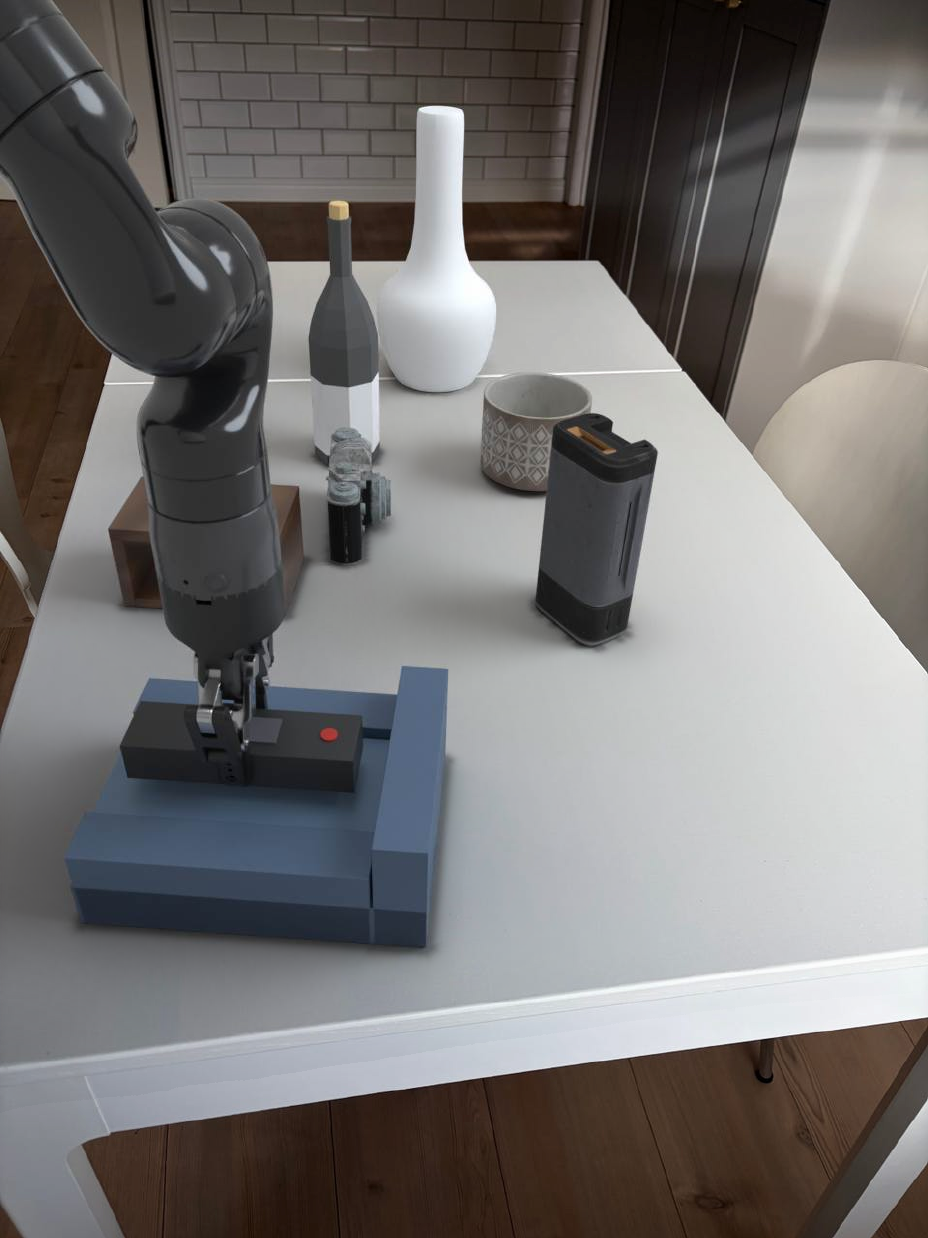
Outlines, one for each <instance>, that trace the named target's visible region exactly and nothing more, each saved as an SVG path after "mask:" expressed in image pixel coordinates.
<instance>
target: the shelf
mask: <svg viewBox="0 0 928 1238" xmlns="http://www.w3.org/2000/svg"><path fill="white" fill-rule="evenodd" d="M270 484H271V483H270ZM271 492H272V497H273V501H274V505H275V509H276V513H277V517H278V524H279V536H280V547H281V556H282V567H283V578H284V589H285V600H286V613H285V617H287V613H288V610H289V607H290V604H291V601H292V598H293V595H294V591H295V588H296V586H297V582H298V580H299V576H300V574H301V571H302V567H303V565H304V562H305V554H304V553H305V552H304V539H303V538H304V537H303V523H302V511H301V497H300V496H301V495H300V485H291V484H289V485H288V484H274V483H273V484H271ZM107 532H108V536H109V540H110V546H111V551H112V556H113V559H114V564H115V570H116V574H117V578H118V583H119V588H120V592H121V597H122V602H123V606H124V607H130V608H146V609H161V610H163V607H162V601H161V596H160V590H159V585H158V579H157V574H156V569H155V563H154V558H153V552H152V547H151V542H150V535H149V510H148V501H147V493H146V488H145V482H144V477H143V475H142V476H141V477H139V479H138V481H137V483H136V484H135V486H134V487H133V489H132V490H131V492H130V494H129V495H128V497H127V498H126V500H125V502H124V503H123V505H122V506H121V508H120V510H119V511H118V512H117V514H116V516H115V517H114V518H113V520H112V522H111V523H110V525H109V526H108V528H107Z"/></svg>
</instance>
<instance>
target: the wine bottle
mask: <svg viewBox="0 0 928 1238" xmlns="http://www.w3.org/2000/svg"><path fill="white" fill-rule="evenodd" d="M349 213H350V211H349V203H348V202H347V201H344V200H331V201H330V202H329V203H328V216H327V217H326V223H327V236H328V254H329V255H328V256H329V257H328V259H329V260H328V261H329V276H328V278H327V281H326V283H325V285H324V287H323V289H322V291H321V293H320V295H319V298H318V299H317V302H316V304H315V307H314V311H313V314H312V318H311V321H310V327H309V332H308V338H307V339H308V355H309V356H308V357H309V370H310V371H309V372H310V373H309V374H310V389H311V405H312V406H311V407H312V420H313V422H312V423H313V439H314V452H315V456H316V457H317V458H318V459H319V460H320V461H321V462H323V464H325V465H326V466H327V467H328V458H330V445H331V434H333V433H335V431H336V430H338V429H340V428H354V429H356V430H357V431H358V433H359V434H361V438H365V439H366V440H368V441H369V442H370V443H371V445H372V464H373V463H374V462H375V460H376V458H377V456H378V454H379V453H380V445H381V444H380V443H381V441H380V440H381V439H380V435H381V434H380V433H381V432H380V378H379V375H380V373H379V371H380V370H379V332H378V328H377V325H376V321H375V318H374V314H373V312H372V309H371V307H370V305H369V302H368V300H367V298H366V296H365V295H364V293H363V290H361V288H360V285H359V284H358V282H357V280H356V278H355V276H354V275H353V264H352V263H353V259H352V258H353V257H352V256H353V255H352V228H351V227H352V226H351V223H352V216H350V215H349Z"/></svg>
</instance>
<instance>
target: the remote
mask: <svg viewBox="0 0 928 1238" xmlns="http://www.w3.org/2000/svg"><path fill="white" fill-rule="evenodd" d="M195 705H196V704H195ZM186 706H187V704H181V703H166V702H150V701H140V703H139V705H138V707H137V710H136V712H135V714H133V716H132V718H131V720H130V722H129V725H128V727H127V729H126V731H125V733H124V734H123V737H122V740H121V741H120V743H119V750H120V753H121V754H122V758H123V762H124V766H125V770H126V774H127V778H136V779H151V780H166V781H181V782H196V783H211V784H222V783H221V782H220V780H219V774H218V768H217V763H215V762H209V763H204V762H200V759H199V757H198V754H197V752H196V749H195V747H194V744H193V742H192V739H191V736H190V734H189V731H188V729H187V726H186V724H185V721H184V710H185V708H186ZM233 723H234V726H235V729H236V732H237V724H236V723H235V722H234V721H233ZM249 739H250V752H251V761H252V769H253V779H252V783H251V785H250V786H256V787H271V788H286V789H301V790H315V791H330V792H345V793H354V792H355V787H356V782H357V777H358V771H359V766H360V761H361V756H362V751H363V726H362V715H350V714H335V713H319V712H304V711H289V710H273V709H256V711H255V713H254V714H253V716H252V718H251V720H250V721H249Z"/></svg>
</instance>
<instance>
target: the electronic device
mask: <svg viewBox="0 0 928 1238" xmlns="http://www.w3.org/2000/svg"><path fill="white" fill-rule="evenodd" d="M613 425H614V422H613V420H612V419H611V418H609V417H607V416H606V415H603V414H601V413H597V412H591V413H588V414H583V415H580V416H576V417H573V418H569V419H566V420H563V421H560V422H559V423H557V424H556V425H555V426H554V427H553V434H552V444H551V453H550V463H549V473H548V483H547V491H545V492H546V493H545V503H544V505H545V506H544V513H543V523H542V533H541V542H540V553H539V561H538V562H539V563H538V570H537V571H538V572H537V579H536V581H537V582H536V592H535V600H534V601H535V605H536V607H537V608H538V609H539V610H540V611H541V612H543V614H545V615H546V616H547V617H549V619H551V620H552V621H553V622H554V623H556V624H557V626H559V627H560V628H561V629H563V630H564V631H565V632H566V633H568V634H569V636H571V637H572V638H574V639H575V640H576V641H578V642H579V643H581V644H583V645H585V646H590V647H591V646H593V647H594V646H596V645H600V644H603V643H605V642H608V641H610V640H612V639H614V638H615V639H616V638H617V637H619V636H622V635H624V634H625V633H626V632H627V629H628V624H629V621H630V614H631V608H632V603H633V597H634V591H635V585H636V579H637V574H638V569H639V563H640V558H641V557H640V556H641V552H642V545H643V541H644V534H645V530H646V529H645V528H646V523H647V516H648V511H649V506H650V500H651V494H652V488H653V483H654V477H655V471H656V467H657V460H658V454H659V451H658V449H657V448H656V447H655V445H654V444H652V443H651V442H649V440H647V439H641V440H638V441H635V442H629V441H628V440H627V439H625V438H623V437H621V436H619V435H618V434H616V433H615V432H613V427H614V426H613Z"/></svg>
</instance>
